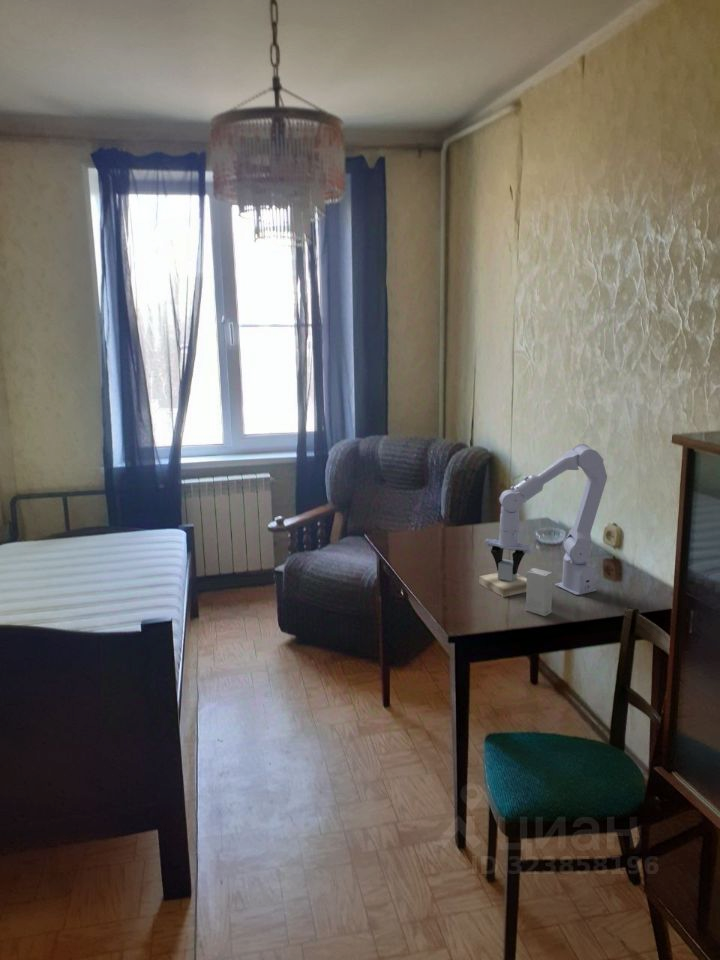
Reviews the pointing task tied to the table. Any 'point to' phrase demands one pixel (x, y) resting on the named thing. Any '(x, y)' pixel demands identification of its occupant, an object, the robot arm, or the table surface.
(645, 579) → the table surface
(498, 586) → the birch base
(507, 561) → the slate block
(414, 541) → the table surface
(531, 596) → the skincare box
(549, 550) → the table surface
